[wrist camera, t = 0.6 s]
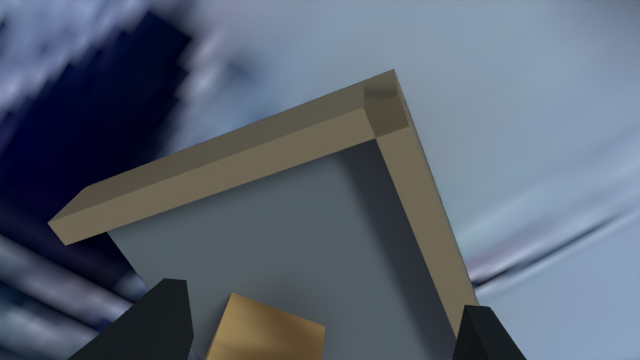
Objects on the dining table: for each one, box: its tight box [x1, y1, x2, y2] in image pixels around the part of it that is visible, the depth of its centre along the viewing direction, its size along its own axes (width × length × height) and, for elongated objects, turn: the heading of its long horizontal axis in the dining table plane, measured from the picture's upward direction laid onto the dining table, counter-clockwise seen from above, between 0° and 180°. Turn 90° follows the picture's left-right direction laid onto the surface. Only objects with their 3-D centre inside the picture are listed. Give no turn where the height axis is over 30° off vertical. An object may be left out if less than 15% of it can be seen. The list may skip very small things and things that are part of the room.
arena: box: [48, 69, 479, 360], centre depth 22 cm, size 15×15×3 cm
